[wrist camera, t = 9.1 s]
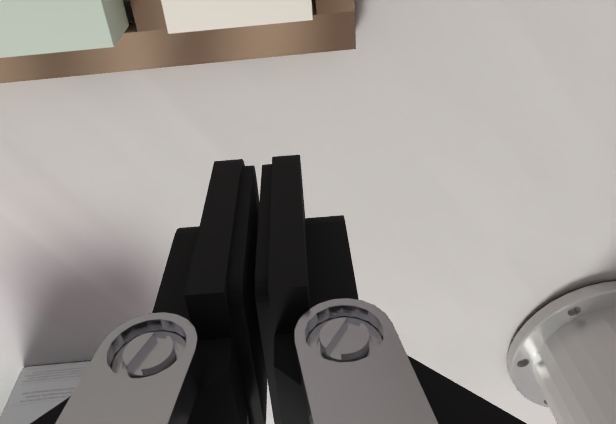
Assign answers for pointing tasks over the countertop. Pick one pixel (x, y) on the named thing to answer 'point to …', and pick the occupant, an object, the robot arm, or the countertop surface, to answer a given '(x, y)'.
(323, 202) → the countertop surface
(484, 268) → the countertop surface
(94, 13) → the tile two
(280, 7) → the tile one
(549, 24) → the countertop surface
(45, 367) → the supplement box
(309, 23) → the board
